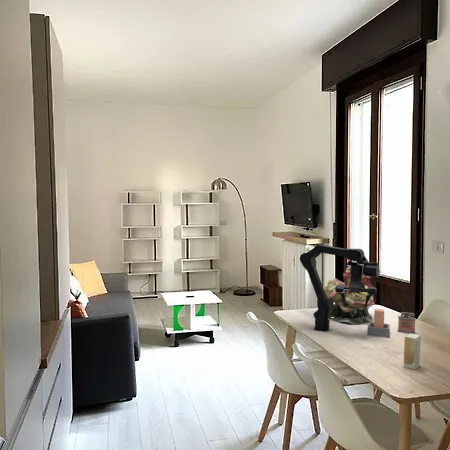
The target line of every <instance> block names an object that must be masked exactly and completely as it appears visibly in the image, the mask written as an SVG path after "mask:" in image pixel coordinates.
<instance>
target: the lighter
mask: <svg viewBox="0 0 450 450" xmlns="http://www.w3.org/2000/svg"><path fill="white" fill-rule="evenodd" d="M397 318H398V324H397V325H398V326H397V327H398V328H397V332H398V333H403V334H407V335H408V334H410V333H411V334H416V320H417V319H416V317H415V313H414V312H408V311H405V312H402V311H401V312H400V315H399V316H398V317H397Z"/></svg>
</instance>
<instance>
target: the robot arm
mask: <svg viewBox="0 0 450 450" xmlns="http://www.w3.org/2000/svg"><path fill="white" fill-rule="evenodd" d="M321 254H326V255H332V256H336V257H337V256H338V257H342V258H345V259H347V260H349V261H347V262H346V263H345V265H346V266H350V283H349V287H345V285H337V286H336V287H335V292H338V294H340V295H341V297H342V299H343V302H344V306H345V307H346V297H345V291H350V293H360V292H366V293H367V296H366V302H365V309H366V306H367V303H368V301H369V299H370V297H373V298H374V296H376V295H377V288H376V287H375V286H373V287H368V289H365V283H362V275H363V274H364V275H365V276H369V277H372V278H379V276H380V271H381V270H380V266H379V262H369V260H368V258H367V257H366V255H365V252H364V250H363V249H362V248H343V247H337V246H331V245H325V244H322V243H320V244H317V245H315V246H314V247H312V249H309V250H307V252H303V253H301V254H300V257H299V262H300V263H301V265H302V267H303V268H304V269H305V270H306V271H307V274H308V277H309V280H310V282H311V285H312V287H313V290H314V291H313V292H314V293H315V296H316V298H317V299H316V301H317V302H316V306H317V310H316V311H314V312H313V317H314V319H315V320H314V328H313V330H314V331H324V332H328V331H329V329H330V322H331V321H330V320H331V319H330V318H329V317H327V316H329V315H330V313H331V312H332V311H333V309H334V304H335V303H333V302H332V298H328V297H327V296H326V294H325V291H324V287H323V286H324V285H323V283H322V281H321V280H322V279H321V277H320V275H319V272H318V269H317V258H318V257H319V256H320V255H321ZM373 295H374V296H373Z"/></svg>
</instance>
